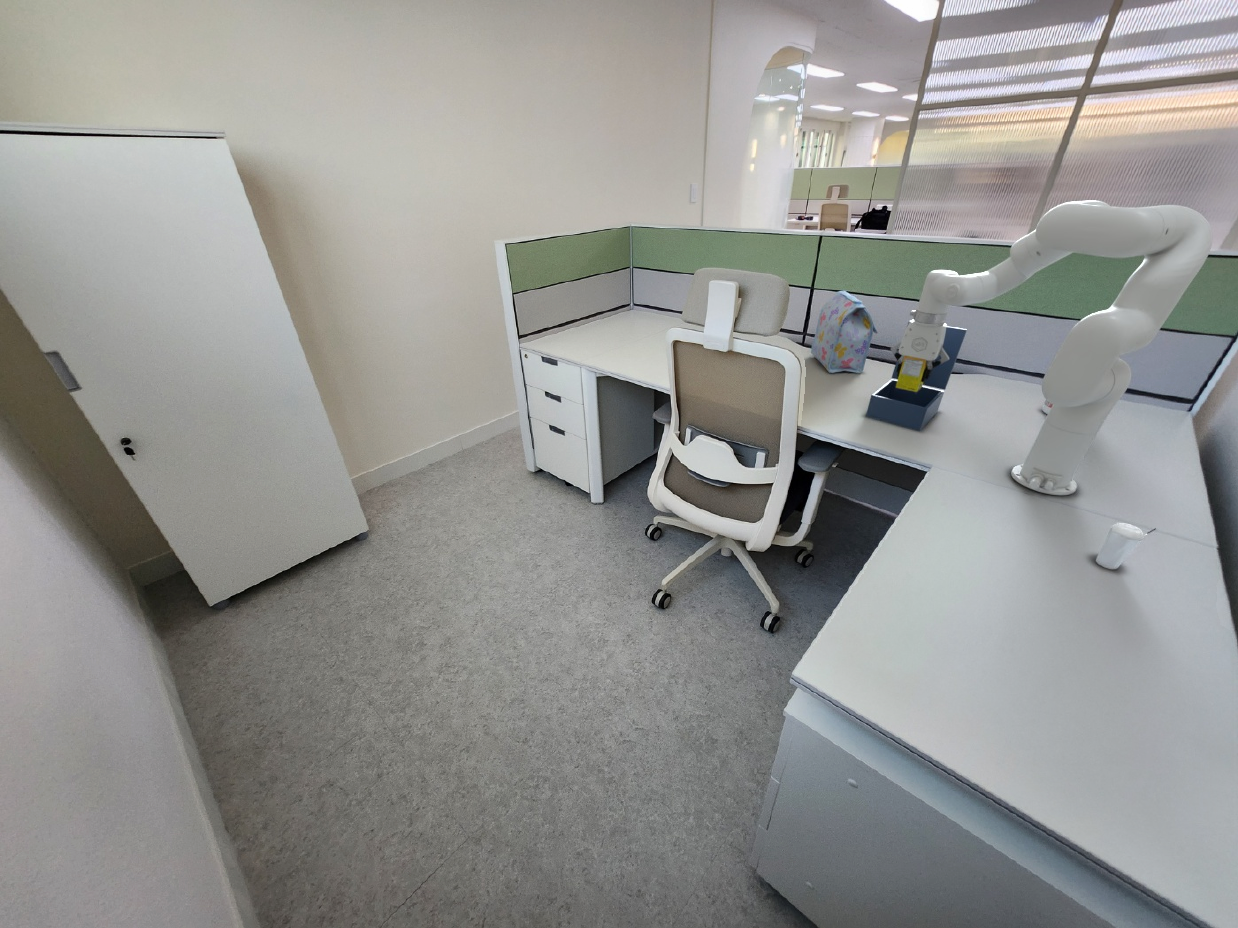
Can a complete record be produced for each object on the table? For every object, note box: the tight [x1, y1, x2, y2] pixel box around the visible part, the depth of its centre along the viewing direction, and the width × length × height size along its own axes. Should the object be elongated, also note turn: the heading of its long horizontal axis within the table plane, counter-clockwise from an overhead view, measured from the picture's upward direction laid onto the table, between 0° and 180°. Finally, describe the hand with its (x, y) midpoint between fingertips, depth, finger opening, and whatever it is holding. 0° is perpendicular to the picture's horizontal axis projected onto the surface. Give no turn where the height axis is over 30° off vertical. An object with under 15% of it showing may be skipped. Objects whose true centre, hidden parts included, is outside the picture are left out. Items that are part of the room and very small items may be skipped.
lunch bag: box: [810, 290, 879, 374], centre depth 185 cm, size 22×17×26 cm
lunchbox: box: [865, 378, 945, 432], centre depth 150 cm, size 18×16×7 cm
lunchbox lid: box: [891, 320, 968, 391], centre depth 150 cm, size 18×16×5 cm
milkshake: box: [1095, 522, 1157, 570], centre depth 91 cm, size 4×5×10 cm
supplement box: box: [895, 356, 927, 394], centre depth 144 cm, size 6×6×11 cm
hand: (911, 377), depth 144 cm, fingers closed on supplement box, 6 cm apart
